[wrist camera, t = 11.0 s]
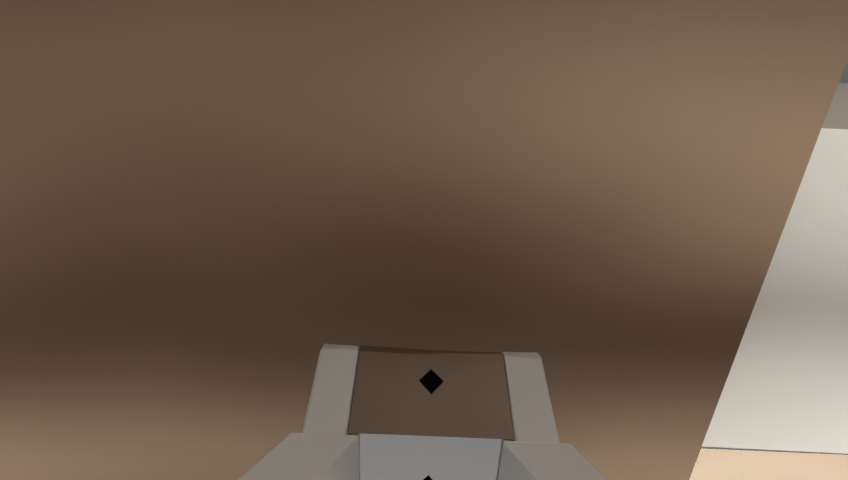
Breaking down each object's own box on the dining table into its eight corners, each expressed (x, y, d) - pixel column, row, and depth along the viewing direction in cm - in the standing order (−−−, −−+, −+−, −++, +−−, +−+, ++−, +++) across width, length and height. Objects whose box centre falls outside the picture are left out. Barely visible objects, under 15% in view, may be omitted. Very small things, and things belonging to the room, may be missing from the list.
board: (-359, -219, 10) (-746, -248, 7) (771, -158, 11) (929, -159, 7) (-63, 415, 18) (-183, 553, 14) (607, 445, 18) (647, 588, 14)
